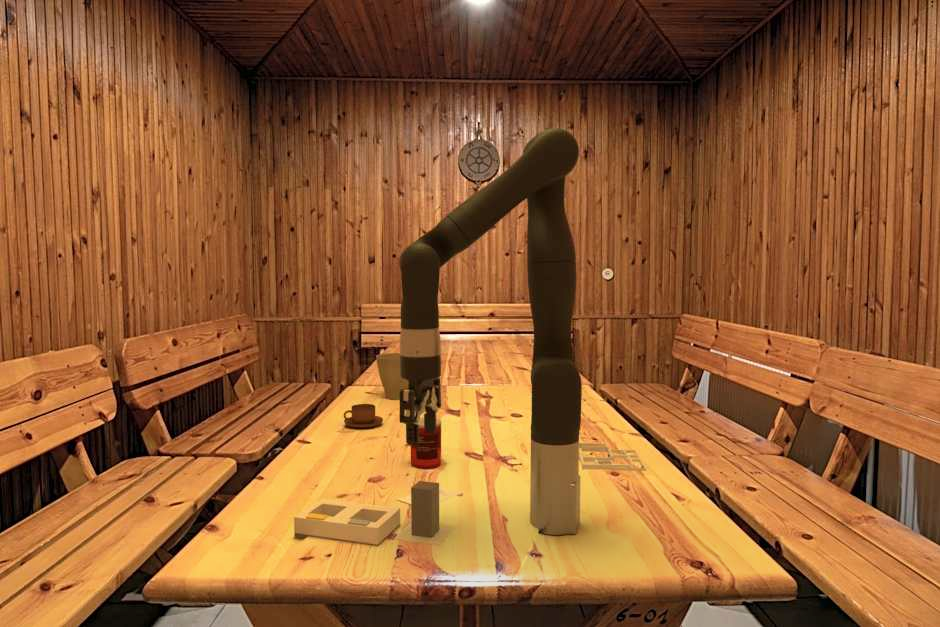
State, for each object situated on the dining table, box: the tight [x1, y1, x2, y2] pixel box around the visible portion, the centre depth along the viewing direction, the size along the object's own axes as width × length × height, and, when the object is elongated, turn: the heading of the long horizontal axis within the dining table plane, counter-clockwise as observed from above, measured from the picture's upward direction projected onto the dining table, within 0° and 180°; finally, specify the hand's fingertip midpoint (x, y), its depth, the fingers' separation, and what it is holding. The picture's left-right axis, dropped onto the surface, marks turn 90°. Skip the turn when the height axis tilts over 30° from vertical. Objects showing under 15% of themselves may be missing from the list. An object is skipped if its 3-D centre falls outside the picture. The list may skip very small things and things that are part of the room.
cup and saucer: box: [343, 403, 384, 429], centre depth 207 cm, size 12×12×6 cm
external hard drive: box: [396, 484, 464, 506], centre depth 143 cm, size 2×8×12 cm
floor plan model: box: [579, 442, 647, 472], centre depth 173 cm, size 19×25×2 cm
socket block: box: [293, 498, 401, 547], centre depth 126 cm, size 17×10×4 cm, turn 72°
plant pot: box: [375, 352, 409, 401], centre depth 248 cm, size 15×15×16 cm
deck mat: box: [393, 521, 457, 546], centre depth 124 cm, size 9×9×1 cm
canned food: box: [410, 417, 442, 470], centre depth 168 cm, size 8×8×11 cm
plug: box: [410, 480, 440, 538], centre depth 124 cm, size 4×4×9 cm
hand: (421, 438), depth 124 cm, fingers open, 8 cm apart
